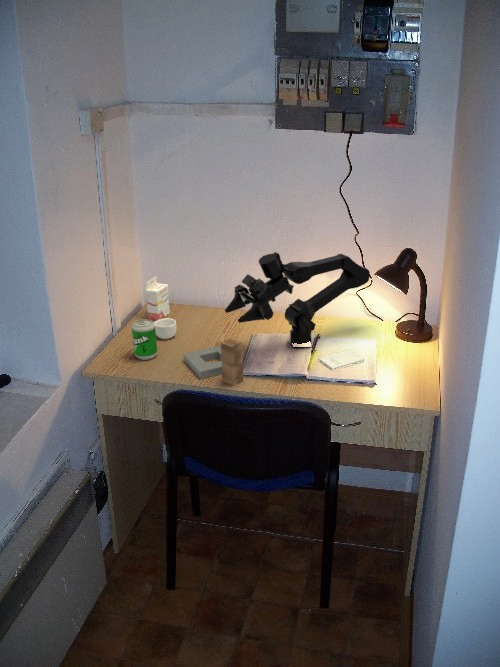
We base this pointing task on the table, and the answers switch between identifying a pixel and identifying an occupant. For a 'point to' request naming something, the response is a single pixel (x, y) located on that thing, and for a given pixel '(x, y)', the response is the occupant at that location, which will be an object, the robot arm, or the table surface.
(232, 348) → the walnut pillar
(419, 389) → the table surface
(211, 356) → the socket base
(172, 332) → the teacup
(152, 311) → the milk carton
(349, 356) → the external hard drive
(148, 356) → the soda can
